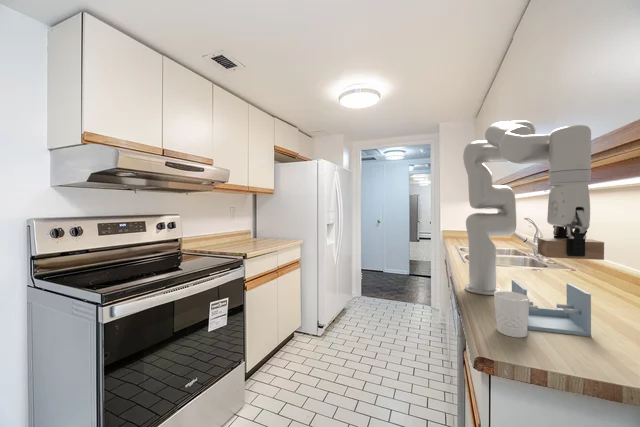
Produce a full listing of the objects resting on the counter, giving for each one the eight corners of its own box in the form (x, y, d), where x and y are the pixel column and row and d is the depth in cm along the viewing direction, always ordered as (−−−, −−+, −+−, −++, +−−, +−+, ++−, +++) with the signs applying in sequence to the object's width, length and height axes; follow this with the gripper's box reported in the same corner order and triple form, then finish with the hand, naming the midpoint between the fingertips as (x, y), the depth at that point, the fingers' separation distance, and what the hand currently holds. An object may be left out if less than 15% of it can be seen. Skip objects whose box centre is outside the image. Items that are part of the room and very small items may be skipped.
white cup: (523, 342, 69) (522, 302, 69) (489, 331, 76) (488, 294, 76) (534, 333, 74) (534, 296, 74) (501, 323, 80) (501, 289, 80)
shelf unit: (511, 314, 87) (511, 279, 87) (570, 320, 82) (569, 283, 82) (523, 328, 77) (523, 289, 77) (591, 336, 72) (590, 294, 71)
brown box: (537, 253, 72) (537, 237, 72) (589, 255, 68) (589, 239, 68) (546, 257, 66) (546, 240, 66) (603, 259, 62) (604, 242, 62)
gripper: (536, 182, 76) (536, 247, 77) (566, 176, 60) (566, 259, 60) (570, 181, 73) (570, 248, 74) (612, 175, 57) (611, 261, 58)
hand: (568, 252), depth 67 cm, fingers closed on brown box, 6 cm apart
